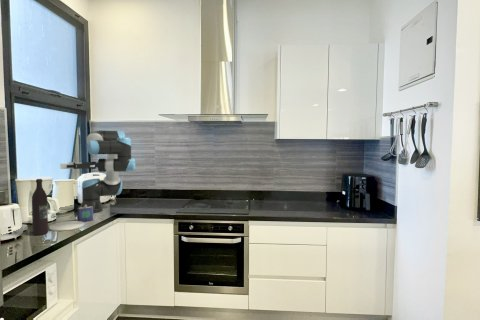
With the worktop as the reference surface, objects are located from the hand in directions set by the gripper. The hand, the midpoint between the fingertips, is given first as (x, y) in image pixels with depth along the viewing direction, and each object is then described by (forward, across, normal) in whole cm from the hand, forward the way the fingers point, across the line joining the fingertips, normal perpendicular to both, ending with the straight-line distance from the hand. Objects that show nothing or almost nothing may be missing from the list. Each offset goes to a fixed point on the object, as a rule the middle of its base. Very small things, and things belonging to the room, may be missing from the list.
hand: (64, 165), depth 167 cm
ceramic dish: (+4, +13, -37) cm, 40 cm away
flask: (-3, +25, -38) cm, 45 cm away
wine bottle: (+13, 0, -38) cm, 40 cm away
